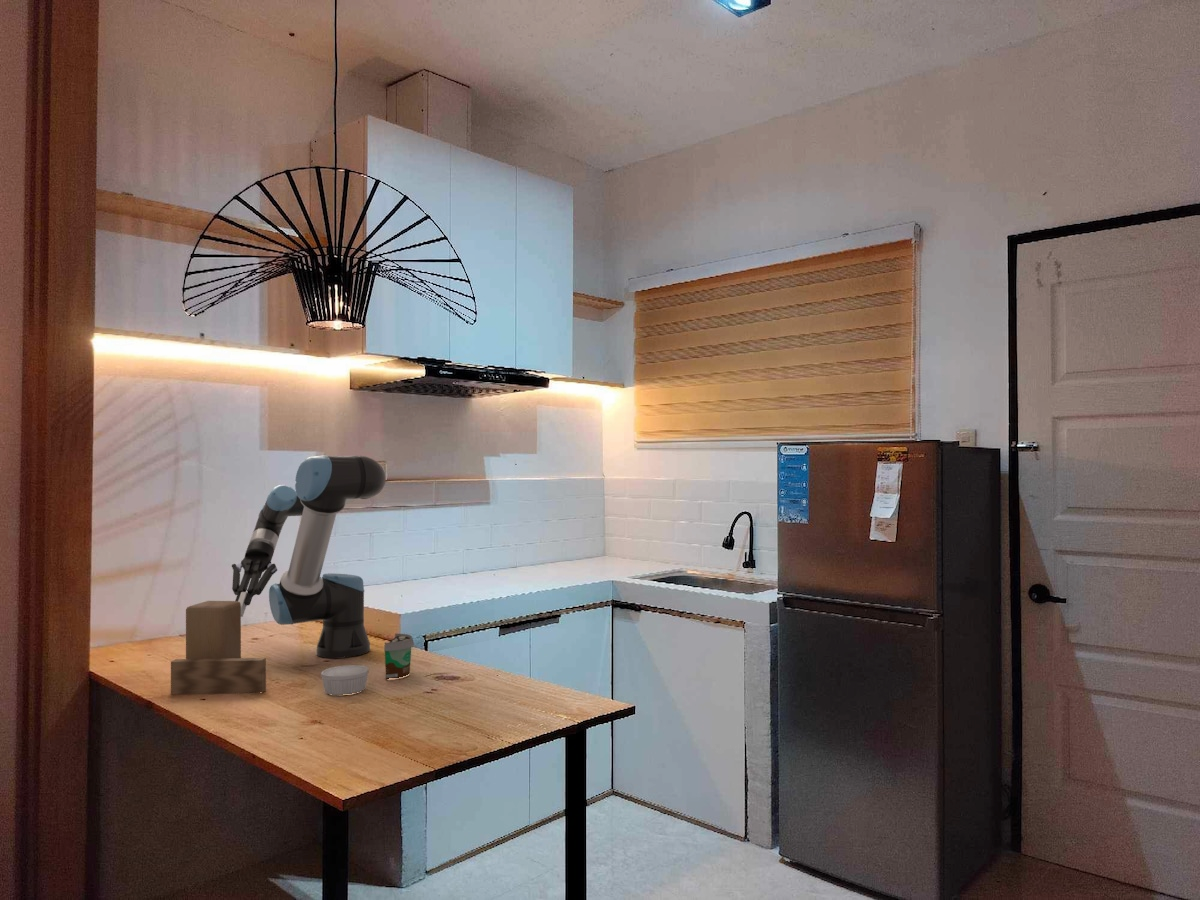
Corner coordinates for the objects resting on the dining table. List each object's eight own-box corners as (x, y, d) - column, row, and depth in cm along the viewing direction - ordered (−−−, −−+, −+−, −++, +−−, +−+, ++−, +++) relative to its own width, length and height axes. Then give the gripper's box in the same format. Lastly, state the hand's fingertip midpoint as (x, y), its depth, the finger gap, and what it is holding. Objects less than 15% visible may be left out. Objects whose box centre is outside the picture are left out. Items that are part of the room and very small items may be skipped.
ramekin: (312, 692, 203) (312, 670, 203) (354, 683, 211) (354, 662, 211) (334, 701, 195) (334, 678, 195) (377, 691, 203) (377, 670, 203)
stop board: (265, 690, 205) (265, 657, 205) (262, 693, 202) (262, 660, 202) (175, 691, 204) (175, 659, 204) (170, 694, 202) (170, 661, 202)
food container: (408, 682, 212) (408, 642, 212) (384, 682, 211) (384, 643, 212) (418, 669, 224) (418, 632, 224) (395, 670, 224) (395, 633, 224)
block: (242, 676, 219) (242, 600, 219) (221, 686, 209) (221, 607, 209) (206, 675, 220) (206, 600, 220) (184, 685, 210) (184, 606, 210)
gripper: (286, 555, 250) (265, 621, 234) (243, 555, 250) (219, 621, 233) (280, 539, 245) (258, 606, 228) (235, 539, 245) (210, 606, 228)
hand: (238, 613), depth 231 cm, fingers closed
